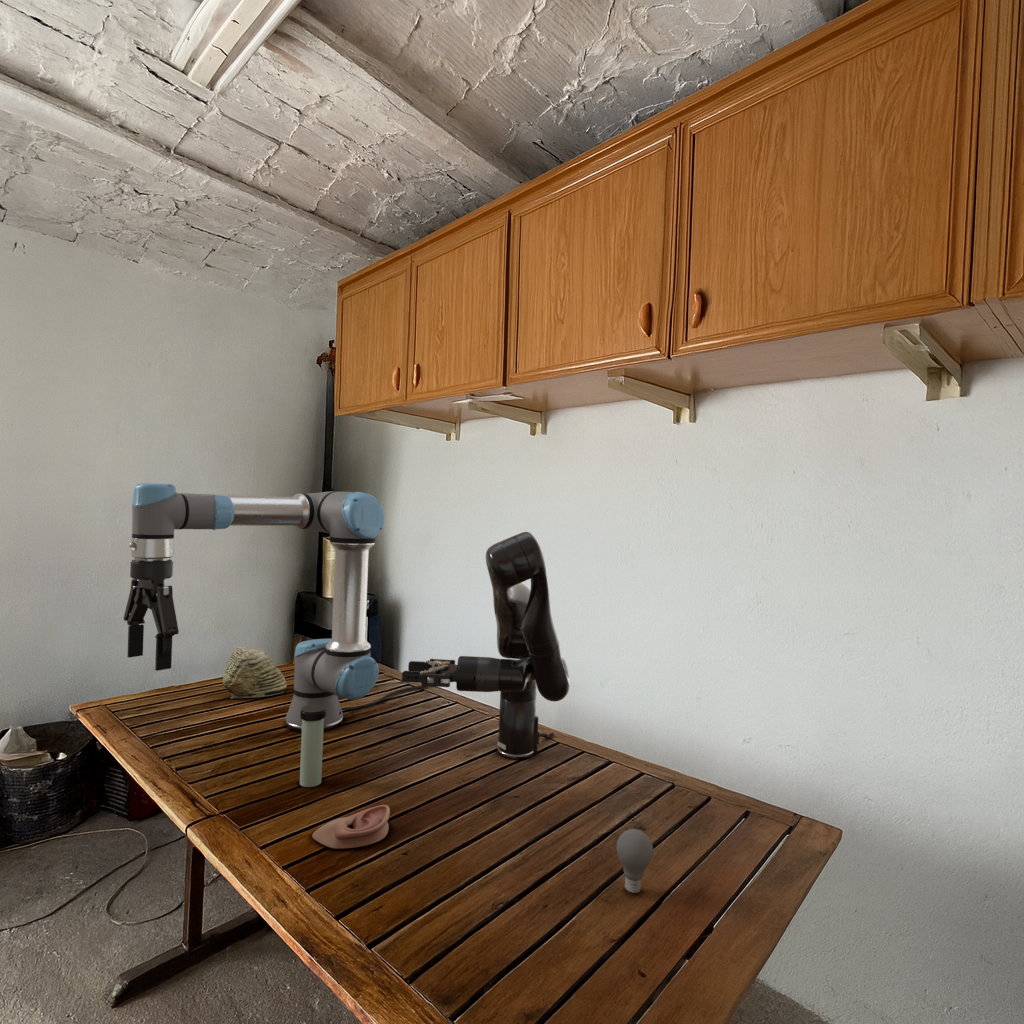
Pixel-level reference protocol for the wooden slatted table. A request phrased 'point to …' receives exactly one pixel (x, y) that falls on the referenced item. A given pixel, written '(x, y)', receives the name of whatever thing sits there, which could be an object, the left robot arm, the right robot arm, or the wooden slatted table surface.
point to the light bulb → (634, 857)
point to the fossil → (252, 674)
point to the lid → (313, 712)
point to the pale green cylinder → (311, 753)
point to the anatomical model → (355, 829)
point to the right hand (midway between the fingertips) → (405, 671)
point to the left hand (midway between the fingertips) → (148, 662)
